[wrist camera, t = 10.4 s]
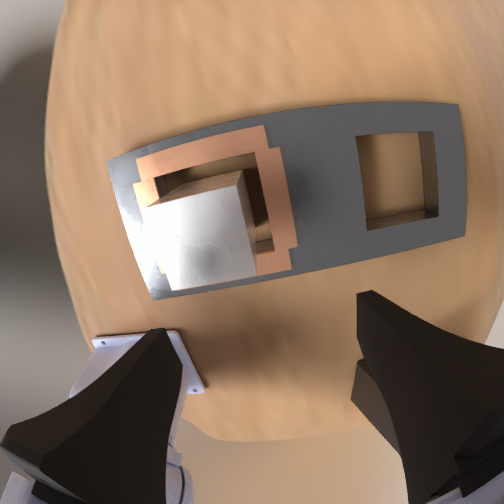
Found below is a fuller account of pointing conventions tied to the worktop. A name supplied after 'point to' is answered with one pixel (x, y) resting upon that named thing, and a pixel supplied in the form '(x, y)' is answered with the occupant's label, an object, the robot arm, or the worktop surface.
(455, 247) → the worktop surface
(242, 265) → the block
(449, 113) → the rail plate
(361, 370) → the phone stand
